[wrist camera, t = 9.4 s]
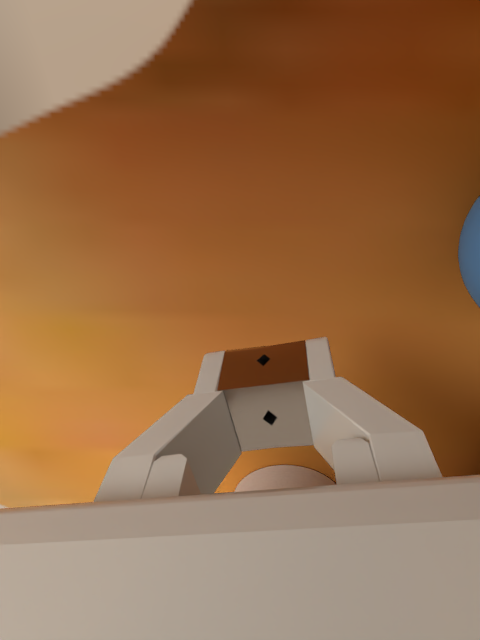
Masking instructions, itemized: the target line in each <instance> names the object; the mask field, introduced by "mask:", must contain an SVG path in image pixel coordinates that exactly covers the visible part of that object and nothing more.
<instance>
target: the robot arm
mask: <svg viewBox="0 0 480 640" xmlns="http://www.w3.org/2000/svg"><path fill="white" fill-rule="evenodd" d="M307 445H314V447H315V449H316V450H317V451H318V452H319V453H320V454H321V456H322V457H323V458H324V459H325V460H326V461H327V463H328V464H329V465H330V466H331V467H332V468H333V470H334V471H335V477H336V484H337V485H325V486H311V487H297V488H283V489H269V490H255V491H242V492H228V493H214V492H215V491H216V489H217V488H218V486H219V485H220V483H221V482H222V481H223V479H224V478H225V476H226V475H227V473H228V472H229V471H230V469H231V468H232V466H233V465H234V463H235V462H236V461H237V459H238V458H239V456H240V455H241V452H242V451H250V450H259V449H267V448H276V447H291V446H307ZM213 493H214V494H213ZM0 640H480V475H468V476H453V477H442V475H441V472H440V470H439V468H438V465H437V463H436V461H435V458H434V456H433V454H432V451H431V449H430V447H429V444H428V442H427V440H426V437H425V435H424V433H423V431H422V430H420V429H419V428H418V427H416V426H415V425H413V424H412V423H410V422H409V421H407V420H406V419H404V418H403V417H401V416H400V415H398V414H397V413H395V412H394V411H392V410H391V409H389V408H388V407H386V406H385V405H383V404H382V403H380V402H379V401H377V400H376V399H374V398H373V397H371V396H370V395H368V394H367V393H365V392H364V391H362V390H361V389H359V388H358V387H356V386H355V385H353V384H352V383H351V382H349V381H348V380H346V379H345V378H343V377H336V376H335V371H334V367H333V362H332V357H331V352H330V347H329V342H328V338H327V337H321V338H315V339H309V340H306V342H305V340H304V341H298V342H291V343H285V344H279V345H273V346H261V347H252V348H244V349H235V350H227V351H218V352H211V353H207V354H205V355H204V358H203V361H202V365H201V369H200V372H199V376H198V379H197V383H196V386H195V390H194V394H190V395H187V396H186V397H185V398H183V399H182V400H181V401H180V402H179V403H178V404H176V405H175V406H174V407H173V408H172V409H170V410H169V411H168V412H167V413H166V414H165V415H163V416H162V417H161V418H160V419H159V420H158V421H156V422H155V423H154V424H153V425H152V426H151V427H149V428H148V429H147V430H146V431H145V432H144V433H142V434H141V435H140V436H139V437H138V438H136V439H135V440H134V441H133V442H132V443H131V444H129V445H128V446H127V447H126V448H125V449H124V450H122V451H121V452H120V453H119V454H118V455H117V456H115V457H114V458H113V460H112V462H111V464H110V466H109V468H108V471H107V473H106V475H105V477H104V480H103V482H102V484H101V486H100V488H99V491H98V493H97V495H96V497H95V500H94V502H89V503H74V504H60V505H46V506H32V507H18V508H4V509H0Z"/></svg>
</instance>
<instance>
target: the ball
mask: <svg viewBox="0 0 480 640" xmlns="http://www.w3.org/2000/svg"><path fill="white" fill-rule="evenodd" d="M458 259H459V266H460V272H461V275H462V279H463V282H464V284H465V286H466V288H467V290H468V292H469V294H470V295H471V297H472V298H473V300H474V301H475V302H476V304H477V305H478V306H479V307H480V196H479V197H478V199H477V200H476V201H475V203H474V204H473V206H472V208H471V209H470V211H469V213H468V215H467V217H466V219H465V222H464V225H463V228H462V231H461V235H460V240H459V249H458Z"/></svg>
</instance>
